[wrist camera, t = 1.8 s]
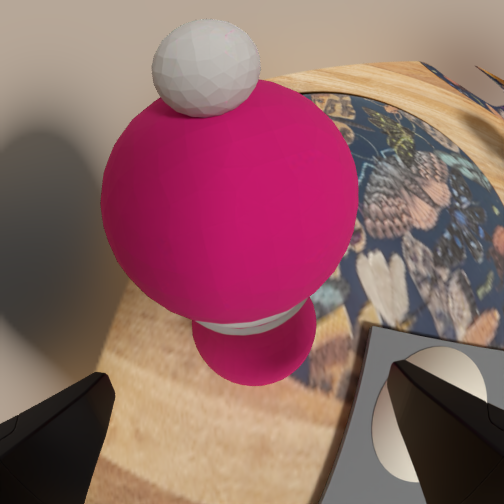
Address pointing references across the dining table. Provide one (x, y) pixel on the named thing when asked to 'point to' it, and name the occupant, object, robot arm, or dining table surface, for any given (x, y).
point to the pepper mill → (230, 202)
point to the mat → (384, 421)
